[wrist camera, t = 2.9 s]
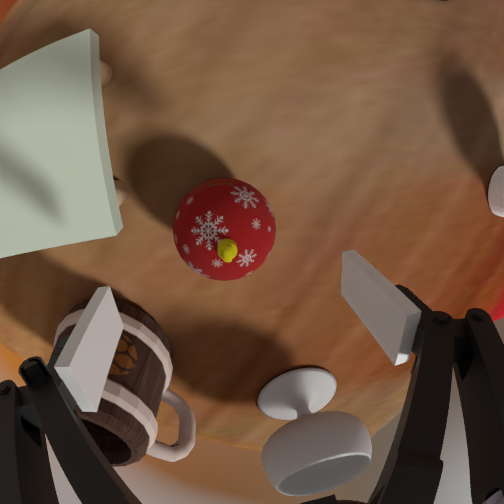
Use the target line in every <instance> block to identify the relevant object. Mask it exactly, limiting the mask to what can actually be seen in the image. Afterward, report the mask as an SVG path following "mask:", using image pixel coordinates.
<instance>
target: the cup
mask: <svg viewBox="0 0 504 504" xmlns="http://www.w3.org/2000/svg"><path fill="white" fill-rule="evenodd" d="M488 201H489V206H490V209H491V211H492V212H493V213H494V214H495V215H498V216H501V217H504V166H500V167H499V168H497V169H496V170H495V172H494V173H493V175H492V177H491V180H490V184H489V189H488Z"/></svg>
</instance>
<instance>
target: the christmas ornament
mask: <svg viewBox="0 0 504 504" xmlns="http://www.w3.org/2000/svg"><path fill="white" fill-rule="evenodd" d="M275 233H276V226H275V219H274V215H273V212H272V209H271V207H270V205H269V203H268V202H267V200H266V199H265V197H264V196H263V195H262V194H261V193H260V192H259V191H258V190H257V189H255V188H254V187H253V186H251V185H249V184H247V183H245V182H243V181H240V180H237V179H231V178H219V179H213V180H209V181H206V182H204V183H202V184H200V185H198V186H196V187H195V188H194V189H192V190H191V191H190V192H189V193H188V194H187V195H186V196H185V197H184V199H183V200H182V202H181V203H180V205H179V207H178V209H177V211H176V214H175V218H174V224H173V235H174V241H175V245H176V247H177V250H178V252H179V254H180V256H181V257H182V259H183V260H184V261H185V263H186V264H187V265H188V266H189V267H190V268H191V269H193V270H194V271H195V272H197V273H198V274H200V275H202V276H204V277H207V278H210V279H214V280H222V281H227V280H235V279H239V278H242V277H244V276H246V275H248V274H250V273H252V272H253V271H255V270H256V269H257V268H258V267H259V266H261V265H262V263H263V262H264V261H265V260H266V258H267V257H268V255H269V253H270V251H271V249H272V247H273V244H274V240H275Z"/></svg>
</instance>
